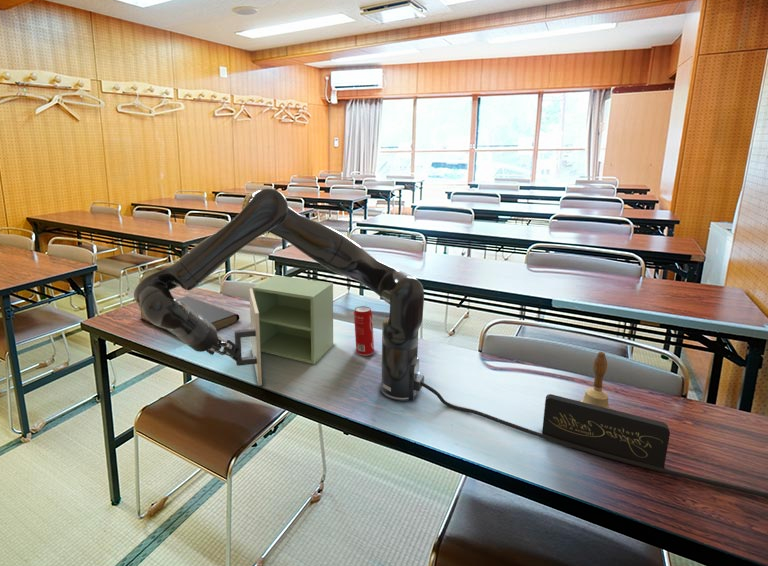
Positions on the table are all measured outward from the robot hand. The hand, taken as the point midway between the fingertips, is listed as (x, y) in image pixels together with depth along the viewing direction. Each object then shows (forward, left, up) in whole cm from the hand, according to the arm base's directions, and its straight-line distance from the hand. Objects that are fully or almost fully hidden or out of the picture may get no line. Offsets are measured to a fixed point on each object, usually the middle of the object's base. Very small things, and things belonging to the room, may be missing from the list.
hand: (225, 354), depth 116 cm
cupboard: (-4, -32, -11) cm, 34 cm away
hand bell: (-87, -33, -11) cm, 94 cm away
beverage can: (-26, -39, -11) cm, 48 cm away
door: (+2, -13, -11) cm, 17 cm away
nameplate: (-86, -17, -11) cm, 88 cm away
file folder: (+45, -35, -11) cm, 58 cm away
